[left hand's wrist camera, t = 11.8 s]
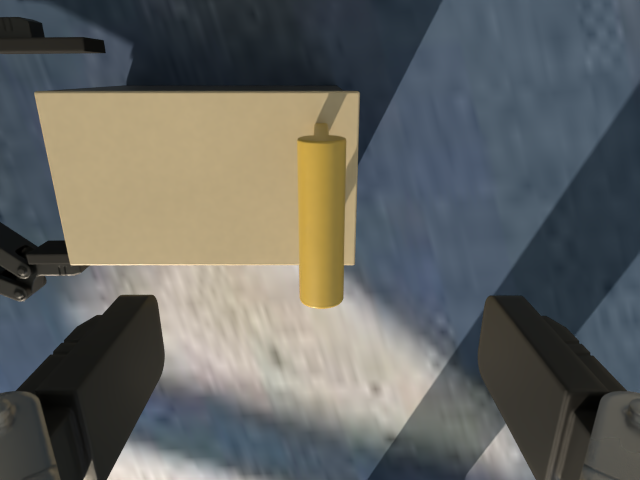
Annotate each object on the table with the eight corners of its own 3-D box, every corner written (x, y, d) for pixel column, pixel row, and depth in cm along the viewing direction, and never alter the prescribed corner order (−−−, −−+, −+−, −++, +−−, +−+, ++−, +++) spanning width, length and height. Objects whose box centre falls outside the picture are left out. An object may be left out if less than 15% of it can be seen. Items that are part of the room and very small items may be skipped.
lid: (358, 90, 25) (378, 100, 16) (353, 258, 28) (368, 338, 20) (44, 90, 24) (-99, 100, 16) (78, 259, 28) (-26, 339, 20)
